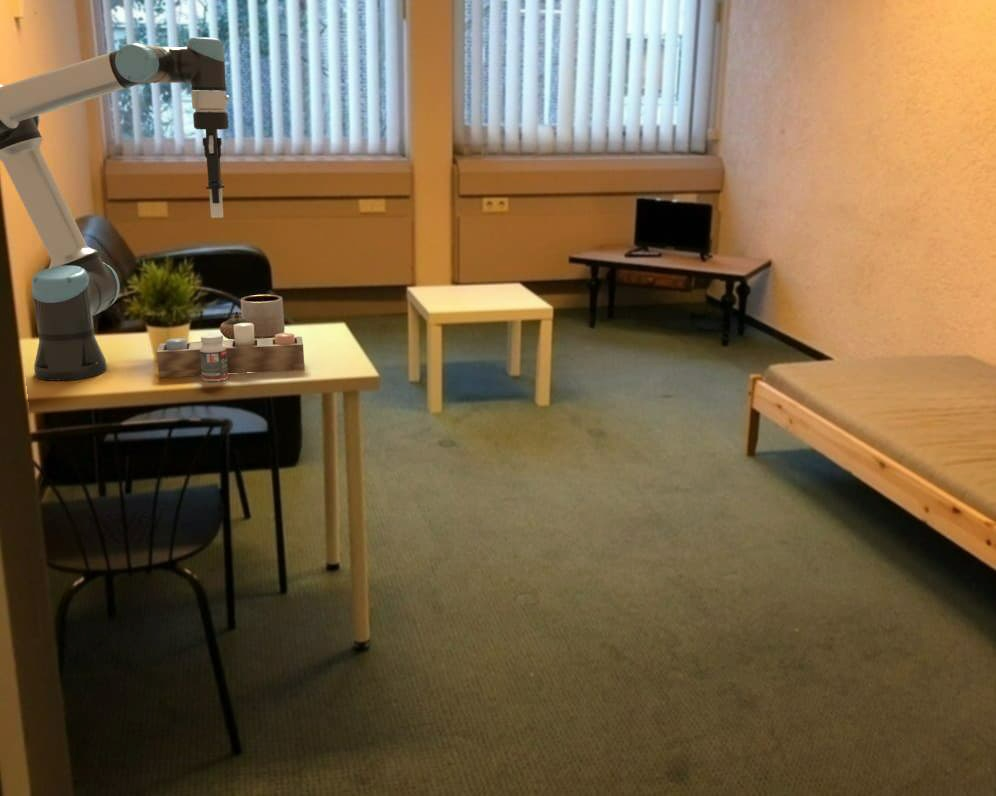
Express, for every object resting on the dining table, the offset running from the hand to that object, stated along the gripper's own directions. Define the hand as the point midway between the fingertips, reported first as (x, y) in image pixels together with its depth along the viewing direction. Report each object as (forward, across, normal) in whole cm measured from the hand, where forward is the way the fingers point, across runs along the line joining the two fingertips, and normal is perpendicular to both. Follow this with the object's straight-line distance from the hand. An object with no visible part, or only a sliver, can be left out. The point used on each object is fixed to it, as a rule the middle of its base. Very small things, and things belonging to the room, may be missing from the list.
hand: (217, 217), depth 233 cm
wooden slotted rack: (+34, -11, -2) cm, 35 cm away
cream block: (+29, -11, -5) cm, 31 cm away
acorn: (+34, +7, -3) cm, 35 cm away
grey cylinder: (+32, -11, +10) cm, 35 cm away
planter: (+34, +25, -9) cm, 43 cm away
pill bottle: (+34, -18, +2) cm, 38 cm away
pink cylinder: (+31, -11, -14) cm, 36 cm away
